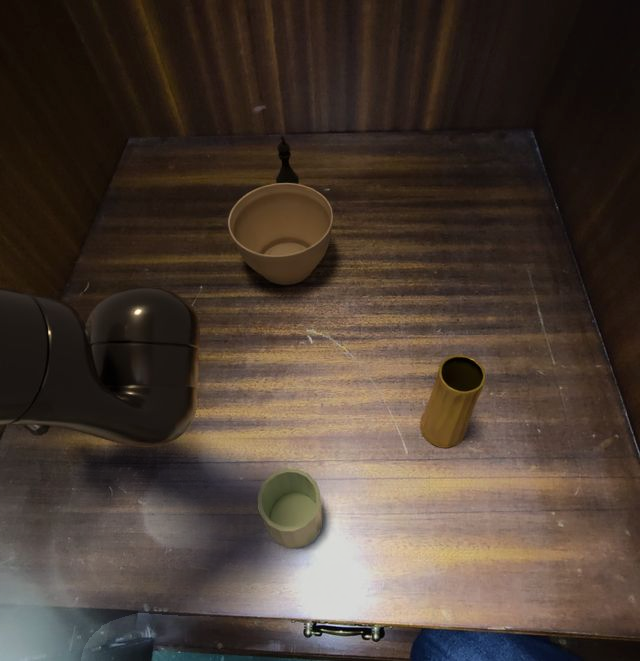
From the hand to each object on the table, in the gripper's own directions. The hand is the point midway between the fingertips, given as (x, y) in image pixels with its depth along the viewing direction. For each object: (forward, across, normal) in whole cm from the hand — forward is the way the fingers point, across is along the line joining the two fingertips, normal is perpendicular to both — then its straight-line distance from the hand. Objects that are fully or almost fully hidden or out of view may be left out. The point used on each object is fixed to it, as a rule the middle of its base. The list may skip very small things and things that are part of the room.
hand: (69, 379), depth 62 cm
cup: (-12, -4, +30) cm, 32 cm away
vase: (-19, -24, +37) cm, 48 cm away
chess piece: (+15, -55, +3) cm, 58 cm away
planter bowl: (+6, -37, +12) cm, 40 cm away
